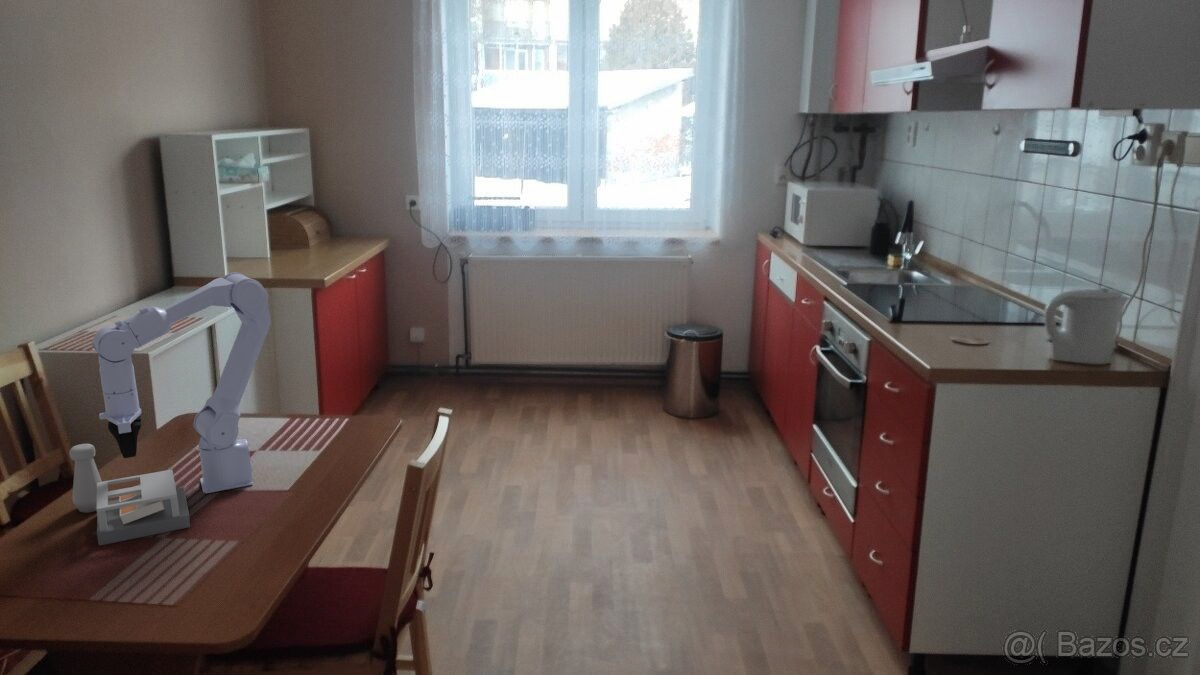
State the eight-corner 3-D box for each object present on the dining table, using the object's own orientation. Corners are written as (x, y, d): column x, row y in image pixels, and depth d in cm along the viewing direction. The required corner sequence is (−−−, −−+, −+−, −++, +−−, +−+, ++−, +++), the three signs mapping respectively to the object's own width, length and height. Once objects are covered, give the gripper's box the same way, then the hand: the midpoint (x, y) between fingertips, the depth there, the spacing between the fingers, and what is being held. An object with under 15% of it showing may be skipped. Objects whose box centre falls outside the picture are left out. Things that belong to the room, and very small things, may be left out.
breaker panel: (185, 498, 177) (180, 466, 175) (190, 526, 165) (186, 493, 163) (99, 514, 170) (94, 482, 168) (98, 545, 158) (93, 510, 156)
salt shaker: (92, 516, 169) (82, 453, 166) (67, 513, 170) (56, 450, 167) (115, 503, 175) (105, 441, 171) (90, 500, 176) (80, 439, 173)
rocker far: (160, 485, 173) (157, 477, 172) (162, 495, 169) (158, 487, 168) (122, 500, 170) (118, 491, 169) (123, 510, 166) (119, 501, 165)
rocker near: (162, 498, 167) (159, 490, 167) (164, 509, 163) (160, 500, 162) (123, 513, 164) (119, 505, 164) (123, 524, 160) (119, 515, 160)
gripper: (96, 382, 172) (106, 447, 175) (95, 403, 159) (106, 473, 163) (136, 377, 175) (145, 441, 179) (139, 397, 163) (148, 466, 166)
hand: (129, 456), depth 171 cm, fingers closed
